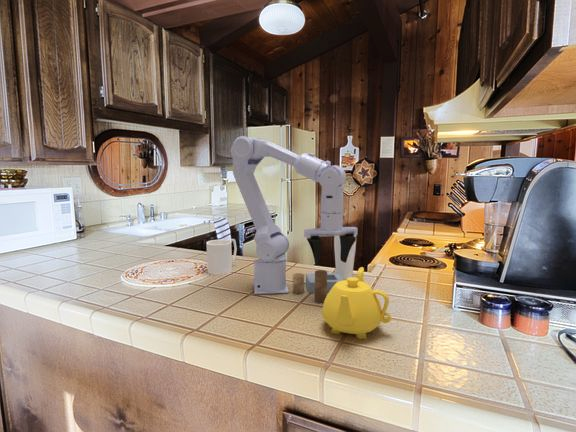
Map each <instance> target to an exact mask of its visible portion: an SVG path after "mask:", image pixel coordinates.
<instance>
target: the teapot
mask: <svg viewBox="0 0 576 432" xmlns="http://www.w3.org/2000/svg"><path fill="white" fill-rule="evenodd" d="M364 272H365V268H364V267H363V266H361V267H359V268H358V269H357V273H356V276H353V277H349V278H347V280H343V281H339V282H337V283H336V284H335V285H334V286H333V287H332V289H331V290H330V291H329V292H327V296H326V298H325V301H324V303H323V305H322V307H321V314H322V315H321V316H322V318H323V319H324V321H325V322H326V324H327V325H328V326H329V327H330V328H331V329H330V333H331V334H333V335H340V334H341V333H345V334H351V335H355V337H356V338H357V339H359V340H366V339H367V338H368V335H367V333H370V332H373V331H374V330H375V329H376V328H377V327H378V326H379V325H380V324H382V323H383V324H388V323H390V322H391V321H392V315H391V313H388V312H386V311H387V309H388V306H389V302H390V298H389V295H388V294H387V292H385V291H383V290H380V289H373V288H372V286H371V285H370V284H368V283H366V282H365V281H364V280H365V279H364ZM377 295H380V296H382V297H383V299H384V303H383V307H382V305H381V302H380V299H379V298H378V296H377ZM386 317H387V318H386Z"/></svg>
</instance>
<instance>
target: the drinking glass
mask: <svg viewBox="0 0 576 432" xmlns="http://www.w3.org/2000/svg"><path fill="white" fill-rule="evenodd" d="M354 236H355V237H356V238H357V235H354ZM333 237H334V238H333V239H334V240H333V241H334V242H333V243H334V245H333V247H334V248H333V249H334V260H335V273H339V275H340V276H341V277H342V279H343V280H347V278H349V277H354V276H353V275H354V265H355V264H354V263H355V256H356V247H357V246H356V245H357V240H356V241H355V242H354V244H353V245H352V247H351V249H350V252H349V254H348V258H347V261H346V262H345V263H344V262H342V261H341V258H340V254H341V245H340V237H339V236H333Z"/></svg>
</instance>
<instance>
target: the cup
mask: <svg viewBox="0 0 576 432" xmlns="http://www.w3.org/2000/svg"><path fill="white" fill-rule="evenodd" d="M232 243H233V247H234V250H232ZM237 247H238V246H237V241H236V239H235V238H231V239H213V240H212V239H211V240H208V241H206V263H207V264H206V267H207V269H206V270H207V274H210V275H213V276H223V275H228V274H229V273H232V272H233V261H235V259H236V257H237V251H238V250H237V249H238V248H237ZM232 251H233V253H232ZM232 254H233V255H232Z"/></svg>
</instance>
